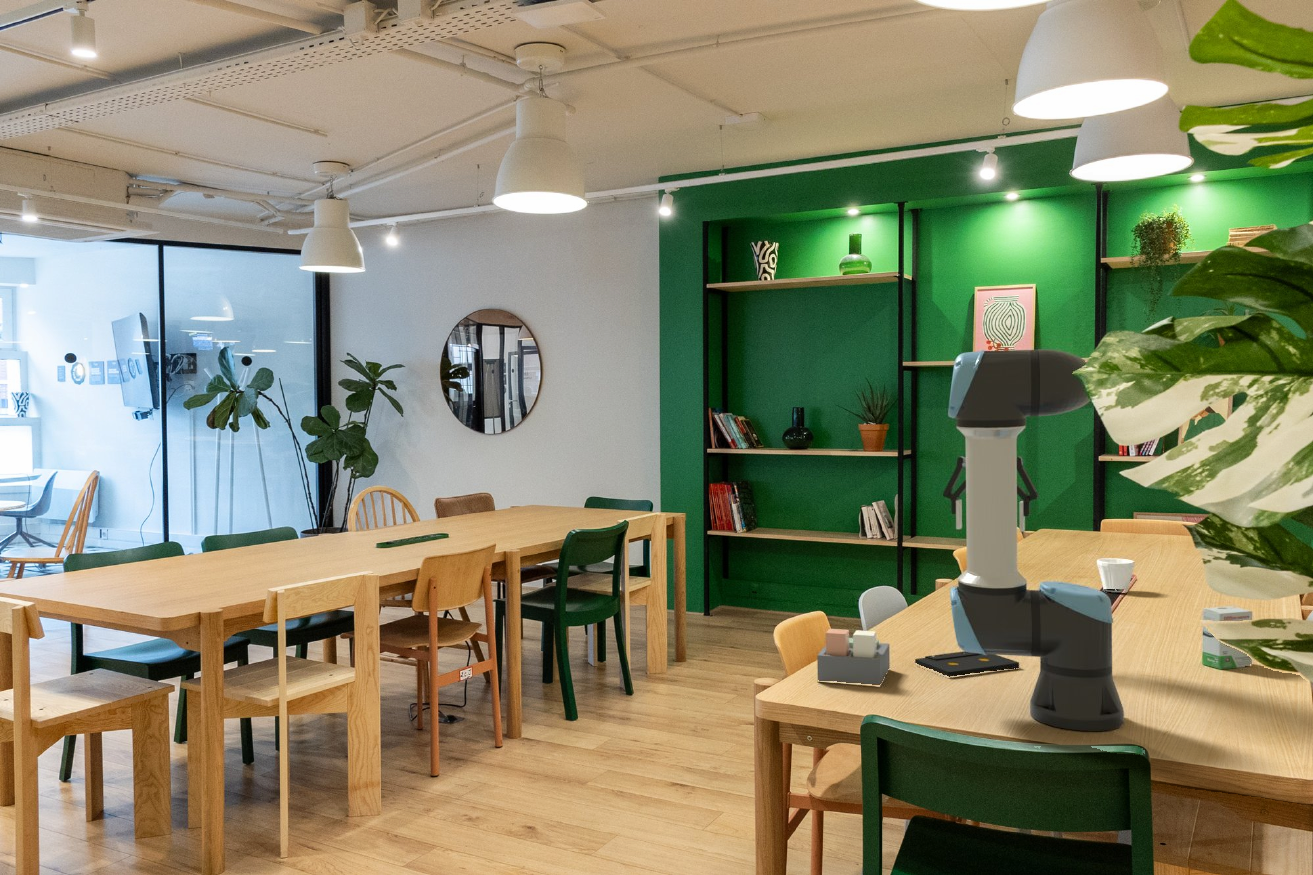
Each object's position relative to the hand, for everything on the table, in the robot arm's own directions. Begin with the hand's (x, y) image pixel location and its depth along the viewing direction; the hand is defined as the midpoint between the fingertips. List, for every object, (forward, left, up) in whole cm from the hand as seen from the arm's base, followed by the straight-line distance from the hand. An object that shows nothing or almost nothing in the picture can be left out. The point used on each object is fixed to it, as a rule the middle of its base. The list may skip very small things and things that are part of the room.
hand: (990, 530), depth 220 cm
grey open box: (-30, +26, -27) cm, 48 cm away
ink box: (+1, -47, -27) cm, 54 cm away
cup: (+83, -32, -27) cm, 93 cm away
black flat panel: (-16, +4, -28) cm, 33 cm away
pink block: (-34, +28, -23) cm, 50 cm away
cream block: (-34, +23, -23) cm, 47 cm away
